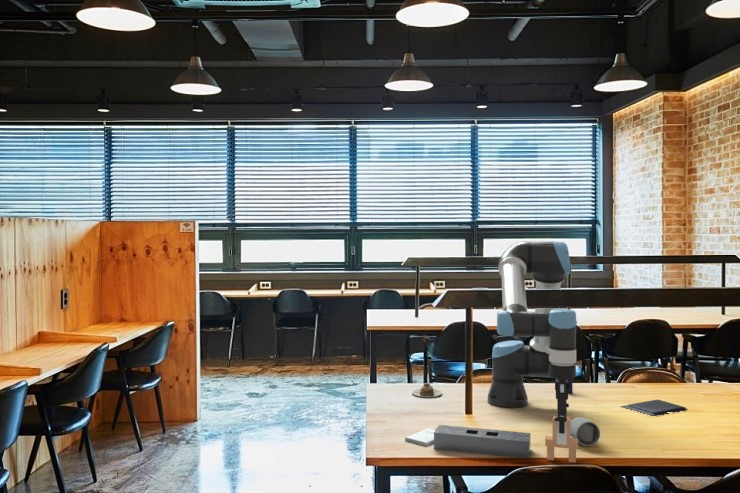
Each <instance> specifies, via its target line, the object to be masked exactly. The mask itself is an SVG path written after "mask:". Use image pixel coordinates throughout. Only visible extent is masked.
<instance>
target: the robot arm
mask: <svg viewBox="0 0 740 493" xmlns="http://www.w3.org/2000/svg"><path fill="white" fill-rule="evenodd" d="M497 268H498V270H497V271H498V273H499V276H500V277H501V295H502V296H501V298H502V299H501V300H502V310H500V311H497V313H496V332H497V334H498V335H500V336H509V337H533V338H532V339H530V340H529V345H528V344H527V345H525V343H524V341H522V340H506V341H505V340H504V341H500V342H499V341H498V342H497V343H495V344H494V345H493V347H492V355H491V358H492V365H491V367H492V369H491V370H492V371H491V372H492V373H491V374H492V375H491V376H492V380H491V384H490V387H489V390H488V394H487V403H489V404H490V405H493V406H496V407H501V408H521V407H525V406H527V405H528V402H529V401H528V400H529V399H528V397H529V396H528V393H527V392H526V387H525V384H524V377H540V378H553V379H556V378H557V379H558V382H556V381H555V382H554V391H555V399H556V402H557V404H556V405H557V407H556V409H557V410H556V417H557V418H554V421H557V444H562V445H567V418H568V416H567V414H568V413H567V408H569V406H570V404H569V403H567V401H568V400H569V394H568V392H569V383H566V380H567V379H572V380H573V379H575V378H576V377H577V366H576V363H577V325H578V321H577V312H576V311H575V310H573V309H568V308H560V307H559V308H534V311H528V305H527V293H526V292H527V291H526V284H525V282H526V281H525V275H531V278H532V280H533V281H534V282H535V290H536V289H560V290H561V288H562V287H561V285H562V283H563V282H565V281H566V276H568V275H570V274H571V270H572V269H571V260H570V252H569V247H568V245H567V243H565V242H564V241H553V240H552V241H527V240H526V241H519V242H516V243H514V244H512V245H510V246H509V247H508V248H506V250H505V251H504V252H503V253H502V254H501V256H500V257H499V260H498V266H497Z"/></svg>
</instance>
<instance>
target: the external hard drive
mask: <svg viewBox="0 0 740 493" xmlns="http://www.w3.org/2000/svg"><path fill="white" fill-rule="evenodd" d="M435 430H436V429H434V428H428V427H427V428H425V429H423V430H421V431H418V432H416V433H414V434H410V435H408V436H406V437H404V441H406V442H409V443H413V444H416V445H420V446H423V447H428V446H430V445H432V444H433V445H434V432H435Z"/></svg>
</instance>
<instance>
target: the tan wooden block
mask: <svg viewBox="0 0 740 493" xmlns="http://www.w3.org/2000/svg"><path fill="white" fill-rule="evenodd" d="M554 418H557V416H554V415H553V416H552V436H551V435H548V436H547V435H545V437H544V438H545V440H544V442H545V443H544V444H545V445H544V446H545V447H546V460H547V461H555V448H561V449H568V463H573V464H574V463H577V450H579V443H578V439H572V436H571V421H572V419H571V417H567V445H562V444H557V421H554Z"/></svg>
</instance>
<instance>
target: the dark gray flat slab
mask: <svg viewBox="0 0 740 493" xmlns="http://www.w3.org/2000/svg"><path fill="white" fill-rule="evenodd" d="M619 407H620V408H623V409H626V410H628V409H630V410H629V411H632V410H634V411H633V412H635V411H637V412H636V413H638V412H640V413H639V414H641V413H643V414H642V415H644V414H647V415H650V416H649V417H651V416H657V415H662V416H665V415H664V414H667V415H670V414H669V413H667V412H673V413H672V414H675V413H674V412H677V413H681V412H680V411H683V412H687V411H686V410H688V411H689V409H688V408H687V407H685V406H681V405H679V404H675V403H671V402H668V401H665V400H661V399H651V400H646V401H641V402H635V403H630V404H629V403H628V404H625V405H622V406H619ZM647 415H646V416H647ZM657 417H658V416H657Z"/></svg>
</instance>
